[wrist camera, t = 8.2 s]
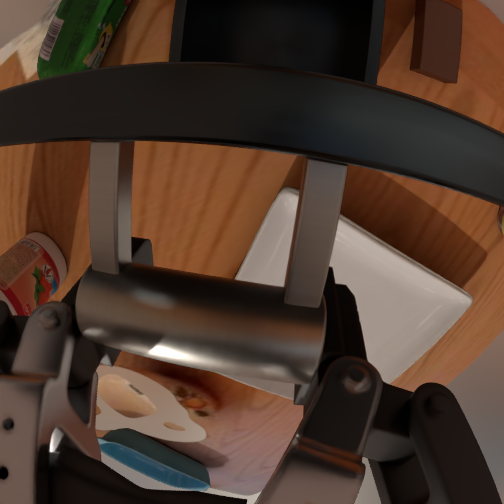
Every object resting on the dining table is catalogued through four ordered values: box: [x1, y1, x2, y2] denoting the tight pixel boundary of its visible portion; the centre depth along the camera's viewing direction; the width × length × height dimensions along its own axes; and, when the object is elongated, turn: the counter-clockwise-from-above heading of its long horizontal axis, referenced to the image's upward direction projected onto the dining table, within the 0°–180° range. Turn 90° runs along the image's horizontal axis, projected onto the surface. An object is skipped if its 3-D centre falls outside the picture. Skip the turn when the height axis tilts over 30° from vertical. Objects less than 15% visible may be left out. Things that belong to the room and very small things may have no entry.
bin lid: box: [0, 61, 504, 385], centre depth 11 cm, size 16×13×6 cm
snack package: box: [37, 0, 132, 79], centre depth 20 cm, size 7×16×5 cm, turn 151°
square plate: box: [216, 187, 473, 400], centre depth 35 cm, size 27×27×4 cm
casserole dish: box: [97, 428, 211, 491], centre depth 68 cm, size 37×22×7 cm, turn 45°
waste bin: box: [169, 0, 385, 85], centre depth 18 cm, size 15×13×10 cm
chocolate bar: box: [410, 0, 462, 84], centre depth 18 cm, size 8×4×2 cm, turn 175°
